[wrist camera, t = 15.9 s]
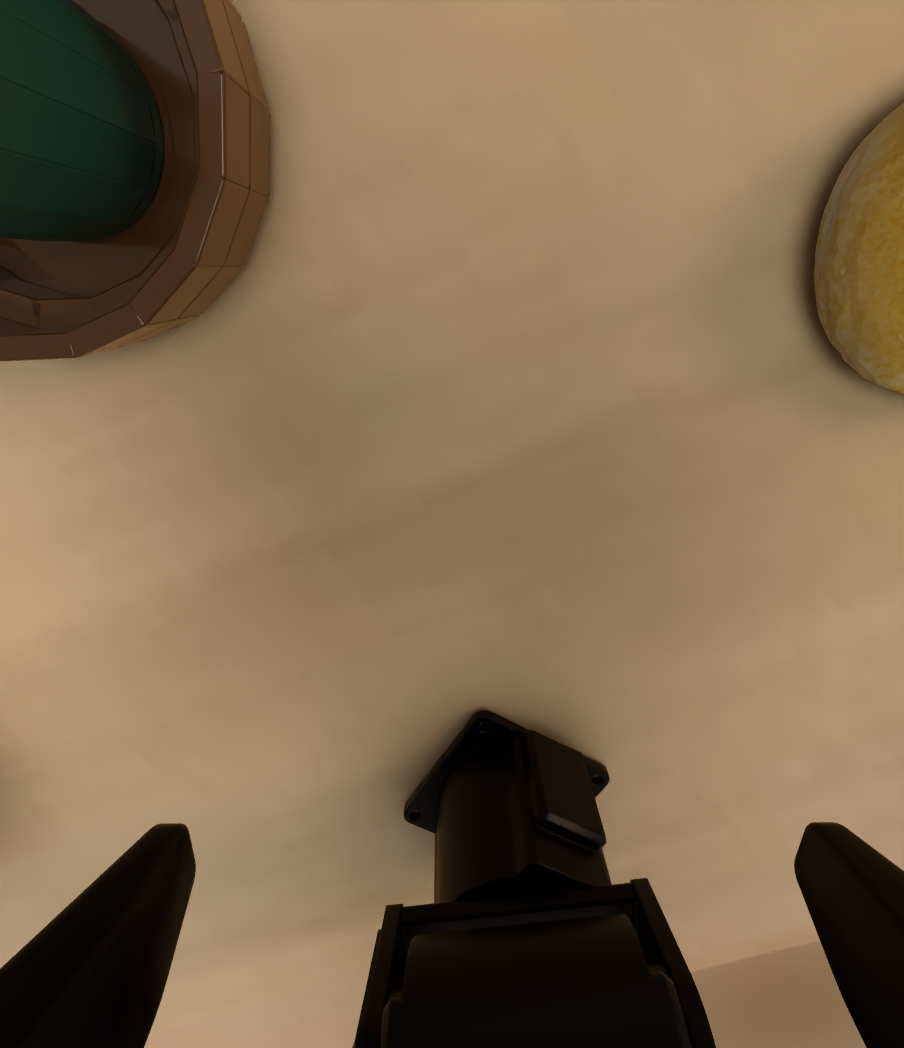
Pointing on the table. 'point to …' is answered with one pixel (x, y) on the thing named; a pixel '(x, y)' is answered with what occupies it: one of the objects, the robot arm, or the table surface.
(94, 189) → the ceramic bottle
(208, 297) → the brown round bowl
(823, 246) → the bread roll
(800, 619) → the table surface
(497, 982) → the robot arm
